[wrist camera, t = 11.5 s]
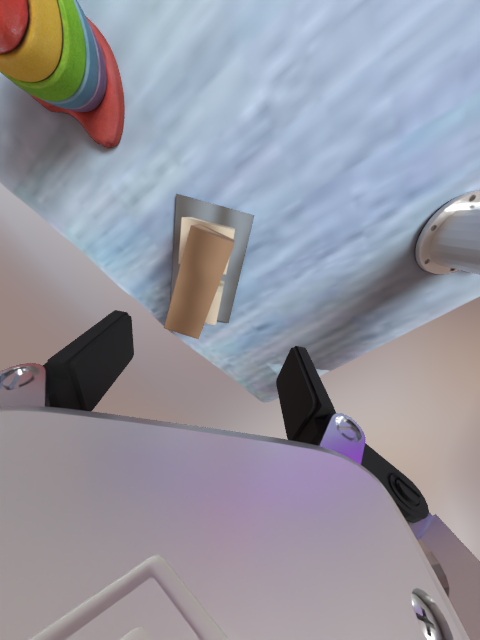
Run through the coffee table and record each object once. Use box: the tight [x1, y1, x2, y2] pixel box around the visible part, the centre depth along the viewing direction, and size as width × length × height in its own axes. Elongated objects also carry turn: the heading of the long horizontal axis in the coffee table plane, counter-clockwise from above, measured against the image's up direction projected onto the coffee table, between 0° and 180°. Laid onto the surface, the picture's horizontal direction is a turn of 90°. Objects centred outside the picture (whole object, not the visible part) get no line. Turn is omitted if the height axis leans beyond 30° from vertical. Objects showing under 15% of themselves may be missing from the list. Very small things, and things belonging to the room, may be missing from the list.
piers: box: [170, 194, 254, 325], centre depth 31 cm, size 12×20×7 cm, turn 167°
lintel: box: [164, 224, 235, 339], centre depth 26 cm, size 5×14×5 cm, turn 157°
